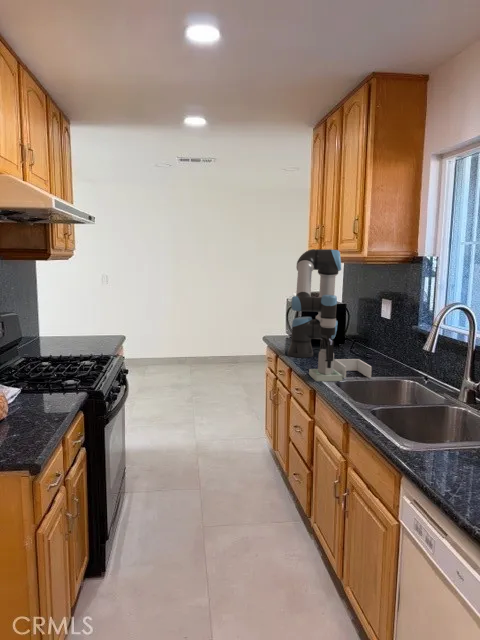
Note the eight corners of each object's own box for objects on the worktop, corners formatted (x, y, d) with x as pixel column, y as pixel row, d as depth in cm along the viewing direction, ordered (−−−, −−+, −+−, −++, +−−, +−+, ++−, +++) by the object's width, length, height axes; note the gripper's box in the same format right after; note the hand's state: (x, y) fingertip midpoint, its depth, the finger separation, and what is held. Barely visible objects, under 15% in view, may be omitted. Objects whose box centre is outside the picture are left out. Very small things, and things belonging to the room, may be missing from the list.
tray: (308, 374, 241) (309, 369, 241) (333, 374, 243) (333, 369, 243) (316, 381, 229) (316, 375, 228) (342, 381, 230) (342, 375, 230)
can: (333, 375, 231) (334, 351, 230) (317, 374, 233) (318, 350, 231) (333, 372, 239) (334, 348, 237) (318, 371, 240) (319, 347, 238)
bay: (333, 370, 252) (333, 359, 251) (358, 370, 254) (359, 359, 253) (344, 378, 235) (344, 366, 234) (370, 378, 237) (371, 366, 236)
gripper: (314, 323, 242) (312, 367, 245) (326, 329, 222) (324, 377, 225) (328, 323, 243) (326, 367, 246) (342, 329, 223) (339, 377, 226)
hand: (325, 372), depth 236 cm, fingers closed on can, 7 cm apart
